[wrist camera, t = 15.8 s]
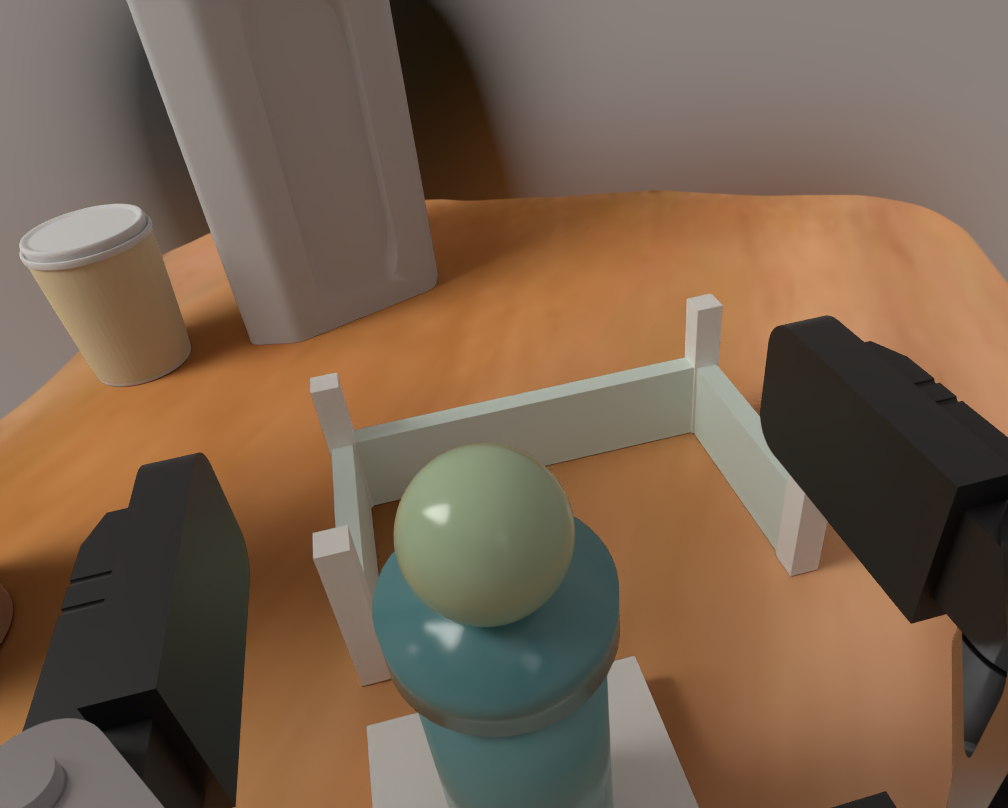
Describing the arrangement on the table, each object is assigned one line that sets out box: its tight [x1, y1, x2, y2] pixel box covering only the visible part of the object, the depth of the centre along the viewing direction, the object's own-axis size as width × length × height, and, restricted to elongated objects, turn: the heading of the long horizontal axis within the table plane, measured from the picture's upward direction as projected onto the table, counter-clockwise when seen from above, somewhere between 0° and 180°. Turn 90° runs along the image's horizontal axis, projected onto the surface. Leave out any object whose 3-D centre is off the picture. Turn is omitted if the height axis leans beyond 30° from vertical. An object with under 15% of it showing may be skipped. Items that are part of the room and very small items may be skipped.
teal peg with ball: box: [372, 443, 620, 808], centre depth 23 cm, size 6×6×18 cm
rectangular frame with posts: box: [310, 294, 828, 686], centre depth 40 cm, size 14×24×9 cm, turn 102°
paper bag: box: [127, 0, 438, 345], centre depth 62 cm, size 19×15×28 cm
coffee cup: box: [19, 204, 191, 387], centre depth 60 cm, size 9×9×12 cm
